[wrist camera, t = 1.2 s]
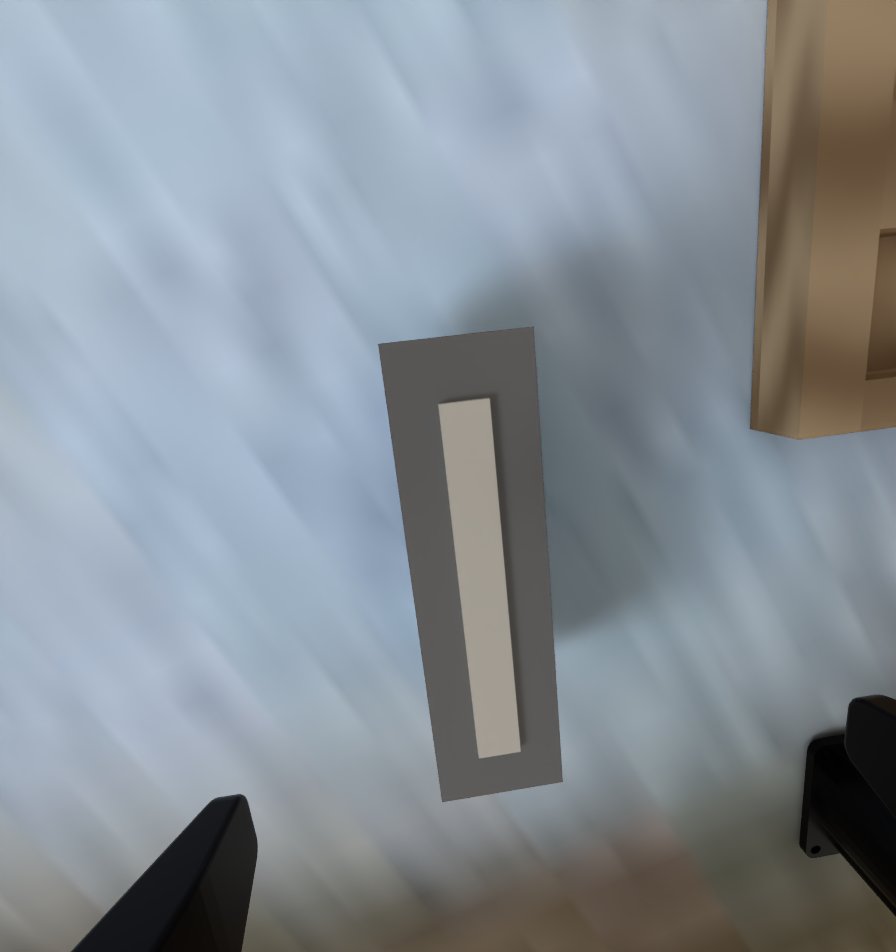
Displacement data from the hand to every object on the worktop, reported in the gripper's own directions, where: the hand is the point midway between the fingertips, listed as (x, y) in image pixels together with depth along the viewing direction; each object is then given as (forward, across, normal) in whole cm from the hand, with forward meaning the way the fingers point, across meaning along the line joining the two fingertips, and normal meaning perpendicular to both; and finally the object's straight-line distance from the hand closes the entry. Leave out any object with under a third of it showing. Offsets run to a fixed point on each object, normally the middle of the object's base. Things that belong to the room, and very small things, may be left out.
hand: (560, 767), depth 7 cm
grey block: (+12, 0, 0) cm, 12 cm away
